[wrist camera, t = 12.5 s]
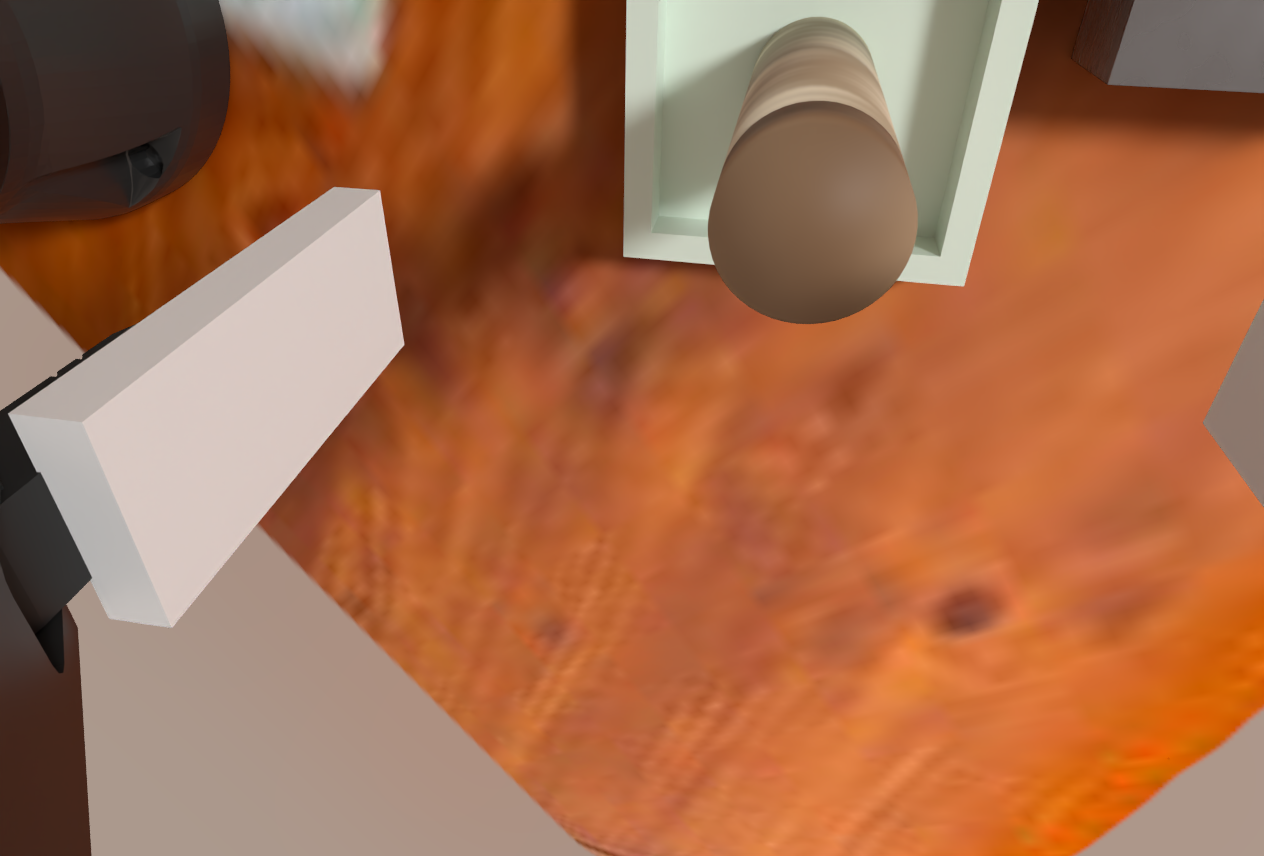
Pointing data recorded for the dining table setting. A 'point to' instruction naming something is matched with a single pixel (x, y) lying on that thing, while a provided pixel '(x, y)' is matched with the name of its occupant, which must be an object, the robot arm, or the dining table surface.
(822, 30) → the pin
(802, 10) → the tray
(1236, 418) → the robot arm
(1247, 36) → the socket block
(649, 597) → the dining table surface
